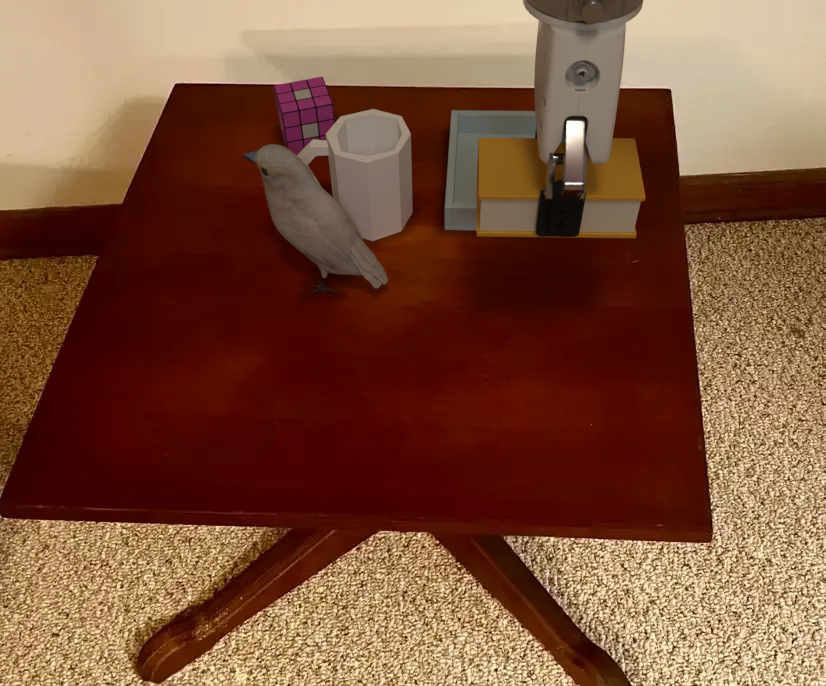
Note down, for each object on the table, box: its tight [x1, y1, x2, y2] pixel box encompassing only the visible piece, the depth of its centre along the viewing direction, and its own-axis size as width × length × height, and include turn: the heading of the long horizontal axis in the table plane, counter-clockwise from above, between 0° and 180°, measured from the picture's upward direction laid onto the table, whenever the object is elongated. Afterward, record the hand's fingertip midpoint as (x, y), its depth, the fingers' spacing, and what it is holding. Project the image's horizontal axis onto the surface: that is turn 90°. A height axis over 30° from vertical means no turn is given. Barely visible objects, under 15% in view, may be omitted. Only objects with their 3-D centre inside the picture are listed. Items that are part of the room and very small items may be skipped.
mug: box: [297, 108, 414, 242], centre depth 88 cm, size 12×9×10 cm
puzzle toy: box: [273, 76, 336, 155], centre depth 99 cm, size 6×6×6 cm
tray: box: [443, 109, 536, 232], centre depth 93 cm, size 11×17×3 cm
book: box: [476, 137, 646, 239], centre depth 67 cm, size 12×7×4 cm, turn 86°
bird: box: [241, 143, 389, 295], centre depth 81 cm, size 5×14×15 cm, turn 67°
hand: (554, 198), depth 68 cm, fingers closed on book, 7 cm apart
